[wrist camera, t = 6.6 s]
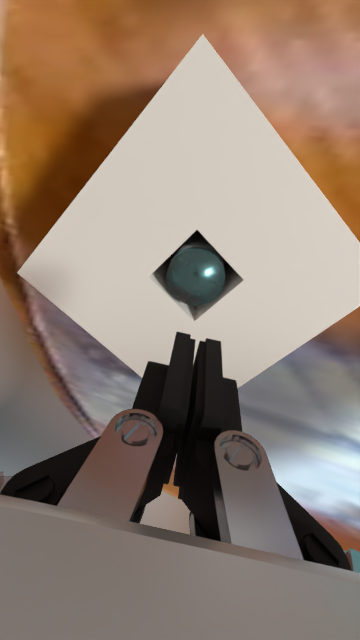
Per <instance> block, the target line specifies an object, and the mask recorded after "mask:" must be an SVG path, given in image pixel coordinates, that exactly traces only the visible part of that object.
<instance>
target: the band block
mask: <svg viewBox="0 0 360 640" xmlns="http://www.w3.org/2000/svg"><path fill="white" fill-rule="evenodd" d="M196 230H198V231H199V232H200V233H201V234H202V235H203V236H204V237H205V239H206V240H207V241H208V242H209V243H210V244H211V245H212V246H213V247H214V248H215V249H216V250H217V252H218V253H219V254H220V255H221V256H222V257H223V258H224V259H225V261H224V262H223V264H224V270H225V284H224V287H223V289H222V291H221V293H220V294H219V295H218V297H217V298H215V299H214V300H213V301H211V302H209V303H207V304H204V305H188V304H185V303H183V302H181V301H179V300H178V299H177V298H176V297H175V296H174V295H173V294H172V293H171V291H170V289H169V287H168V284H167V270H168V267H169V265H170V262H171V260H172V258H171V257H170V256H171V255H172V254H173V253H174V252H175V251H176V250H177V249H178V248H179V247H180V246H181V245H182V244H183V243H184V242H185V241H186V240H187V239H188V238H189V237H190V236H191V235H192V234H193V233H194V232H195V231H196ZM17 273H18V274H19V275H20V276H21V277H23V278H24V279H25V280H26V281H27V282H28V283H30V284H31V285H32V286H33V287H34V288H36V289H37V290H38V291H39V292H40V293H42V294H43V295H44V296H45V297H46V298H48V299H49V300H50V301H51V302H52V303H54V304H55V305H56V306H57V307H58V308H59V309H61V310H62V311H63V312H64V313H65V314H67V315H68V316H69V317H70V318H71V319H73V320H74V321H75V322H76V323H77V324H79V325H80V326H81V327H82V328H83V329H84V330H86V331H87V332H88V333H89V334H90V335H92V336H93V337H94V338H95V339H96V340H98V341H99V342H100V343H101V344H102V345H104V346H105V347H106V348H107V349H108V350H109V351H111V352H112V353H113V354H114V355H115V356H117V357H118V358H119V359H120V360H121V361H123V362H124V363H125V364H126V365H127V366H129V367H130V368H131V369H132V370H133V371H134V372H136V373H137V374H138V375H139V376H140V377H142V378H143V375H144V372H145V369H146V366H147V363H148V361H152V362H156V363H161V364H165V365H169V363H170V359H171V354H172V350H173V345H174V341H175V336H176V332H181V333H186V334H190V335H191V337H190V338H191V339H195V340H196V341H195V351H194V360H195V356H196V353H197V349H198V345H199V342H200V341H204V342H205V340H206V338H208V339H213V340H217V341H221V349H222V369H223V377H224V378H229V379H233V380H236V383H237V389H238V388H239V387H241V386H242V385H244V384H245V383H247V382H248V381H249V380H251V379H252V378H254V377H255V376H257V375H258V374H260V373H261V372H263V371H264V370H266V369H267V368H269V367H270V366H272V365H273V364H275V363H276V362H278V361H279V360H281V359H282V358H284V357H285V356H287V355H288V354H290V353H291V352H292V351H294V350H295V349H297V348H298V347H300V346H301V345H303V344H304V343H306V342H307V341H309V340H310V339H312V338H313V337H315V336H316V335H318V334H319V333H321V332H322V331H324V330H325V329H327V328H328V327H330V326H331V325H333V324H334V323H336V322H337V321H338V320H340V319H341V318H343V317H344V316H346V315H347V314H349V313H350V312H352V311H353V310H355V309H356V308H358V307H359V306H360V242H359V241H358V240H357V238H356V237H355V236H354V234H353V233H352V232H351V230H350V229H349V228H348V226H347V225H346V224H345V222H344V221H343V220H342V218H341V217H340V216H339V215H338V213H337V212H336V211H335V209H334V208H333V207H332V205H331V204H330V203H329V201H328V200H327V199H326V197H325V196H324V195H323V193H322V192H321V191H320V189H319V188H318V187H317V185H316V184H315V183H314V181H313V180H312V179H311V177H310V176H309V175H308V173H307V172H306V171H305V169H304V168H303V167H302V165H301V164H300V163H299V161H298V160H297V159H296V157H295V156H294V155H293V153H292V152H291V151H290V149H289V148H288V147H287V145H286V144H285V143H284V141H283V140H282V139H281V137H280V136H279V135H278V133H277V132H276V131H275V129H274V128H273V127H272V125H271V124H270V123H269V121H268V120H267V119H266V117H265V116H264V115H263V113H262V112H261V111H260V110H259V108H258V107H257V106H256V104H255V103H254V102H253V100H252V99H251V98H250V96H249V95H248V94H247V92H246V91H245V90H244V88H243V87H242V86H241V84H240V83H239V82H238V80H237V79H236V78H235V76H234V75H233V74H232V72H231V71H230V70H229V68H228V67H227V66H226V64H225V63H224V62H223V60H222V59H221V58H220V56H219V55H218V54H217V52H216V51H215V50H214V48H213V47H212V46H211V44H210V43H209V42H208V40H207V39H206V38H205V36H204V35H203V34H202V36H201V37H200V38H199V39H198V41H197V42H196V43H195V45H194V46H193V47H192V48H191V50H190V51H189V52H188V54H187V55H186V56H185V57H184V59H183V60H182V61H181V63H180V64H179V65H178V66H177V68H176V69H175V70H174V72H173V73H172V74H171V75H170V77H169V78H168V79H167V81H166V82H165V83H164V84H163V86H162V87H161V88H160V90H159V91H158V92H157V93H156V95H155V96H154V97H153V99H152V100H151V101H150V102H149V104H148V105H147V106H146V108H145V109H144V110H143V111H142V113H141V114H140V115H139V117H138V118H137V119H136V120H135V122H134V123H133V124H132V126H131V127H130V128H129V129H128V131H127V132H126V133H125V135H124V136H123V137H122V138H121V140H120V141H119V142H118V144H117V145H116V146H115V147H114V149H113V150H112V151H111V153H110V154H109V155H108V156H107V158H106V159H105V160H104V162H103V163H102V164H101V165H100V167H99V168H98V169H97V171H96V172H95V173H94V174H93V176H92V177H91V178H90V180H89V181H88V182H87V183H86V185H85V186H84V187H83V189H82V190H81V191H80V192H79V194H78V195H77V196H76V198H75V199H74V200H73V201H72V203H71V204H70V205H69V207H68V208H67V209H66V210H65V212H64V213H63V214H62V216H61V217H60V218H59V219H58V221H57V222H56V223H55V225H54V226H53V227H52V228H51V230H50V231H49V232H48V234H47V235H46V236H45V237H44V239H43V240H42V241H41V243H40V244H39V245H38V246H37V248H36V249H35V250H34V252H33V253H32V254H31V255H30V257H29V258H28V259H27V261H26V262H25V263H24V264H23V266H22V267H21V268H20V270H19V271H18V272H17ZM193 364H194V361H193Z"/></svg>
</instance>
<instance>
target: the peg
mask: <svg viewBox="0 0 360 640" xmlns="http://www.w3.org/2000/svg"><path fill="white" fill-rule="evenodd" d="M167 284H168V287H169V289H170V291H171V293H172V294H173V295H174V296H175V297H176V298H177V299H178V300H179V301H181V302H183V303H185V304H188V305H204V304H207V303H209V302H211V301H213V300H214V299H215V298H217V297H218V295H219V294H220V293H221V291H222V289H223V287H224V284H225V270H224V264H223V257H222V256H221V255H220V254H219V253H218V252H217V250H216V249H215V248H214V247H213V246H212V245H211V244H210V243H209V242H208V241H207V240H206V239H205V237H204V236H203V235H202V234H201V233H200V232H199V231H198V230H196V231H195V232H194V233H193V234H192V235H191V236H190V237H189V238H188V239H187V240H186V241H185V242H184V243H183V244H182V245H181V246H180V247H179V248H178V249H177V250H176V251H175V253H174V255H173V258H172V260H171V262H170V265H169V267H168V270H167Z"/></svg>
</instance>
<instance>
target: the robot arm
mask: <svg viewBox="0 0 360 640" xmlns="http://www.w3.org/2000/svg"><path fill="white" fill-rule="evenodd" d="M190 337H191V335H190V334H186V333H181V332H176V336H175V341H174V345H173V350H172V354H171V359H170V363H169V365H165V364H161V363H156V362H152V361H148V363H147V366H146V369H145V372H144V375H143V378H142V381H141V384H140V386H139V389H138V392H137V395H136V398H135V401H134V404H133V407H132V409H128V410H125V411H122V412H120V413H118V414H116V415H115V416H114V418H113V419H112V420H111V421H110V423H109V424H108V426H107V428H106V429H105V431H104V432H103V434H102V435H101V436H100V437H98V438H95V439H93V440H91V441H88V442H86V443H84V444H82V445H79V446H77V447H75V448H72V449H70V450H67V451H65V452H63V453H61V454H58V455H56V456H54V457H51V458H49V459H47V460H44V461H42V462H40V463H37V464H35V465H33V466H30V467H28V468H26V469H24V470H22V471H20V472H19V473H17V474H16V475H14V476H4V474H3V472H0V640H360V552H358V551H356V550H353V549H351V548H350V549H349V550H348V551H344V550H343V549H342V547H341V546H340V545H339V543H338V542H337V541H336V540H335V539H334V538H333V536H332V535H331V534H330V533H329V532H327V531H326V530H325V529H324V528H323V527H322V526H321V525H320V524H319V523H318V522H317V521H316V520H315V519H314V518H313V517H312V516H311V515H310V514H309V513H308V512H307V511H306V510H305V509H304V508H303V507H302V506H301V505H300V504H299V503H298V502H296V501H295V500H294V499H293V498H292V497H291V496H290V495H289V494H288V493H287V492H286V491H285V490H284V489H283V488H282V487H281V486H280V485H279V484H278V483H277V482H276V480H275V477H274V474H273V472H272V469H271V466H270V463H269V460H268V457H267V455H266V452H265V451H264V449H263V447H262V446H261V445H260V443H259V442H258V441H257V440H255V439H254V438H253V437H251V436H250V435H248V434H246V433H243V432H242V425H241V416H240V407H239V399H238V390H237V383H236V380H233V379H229V378H224V377H223V369H222V349H221V341H217V340H213V339H208V338H206V340H205V342H204V341H200V342H199V345H198V349H197V353H196V356H195V360H194V351H195V341H196V340H195V339H191V338H190ZM193 361H194V364H193ZM176 455H177V458H176ZM175 458H176V466H175V474H174V483H173V485H174V486H178V487H179V495H178V499H182V501H183V502H184V503H185V505H186V506H187V507H188V509H189V510H190V514H189V528H190V535H188V534H184V533H179V532H175V531H170V530H166V529H161V528H157V527H152V526H148V525H143V524H140V521H141V519H142V516H143V513H144V510H145V506H146V504H147V503H149V502H151V501H152V500H154V499H155V498H157V497H158V496H160V495H161V491H162V487H163V484H168V483H169V480H170V476H171V472H172V469H173V465H174V462H175Z"/></svg>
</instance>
